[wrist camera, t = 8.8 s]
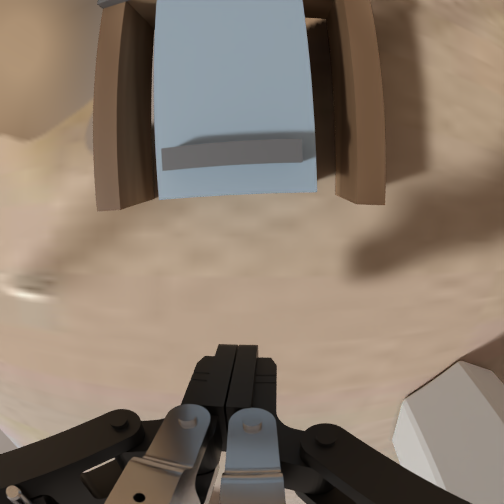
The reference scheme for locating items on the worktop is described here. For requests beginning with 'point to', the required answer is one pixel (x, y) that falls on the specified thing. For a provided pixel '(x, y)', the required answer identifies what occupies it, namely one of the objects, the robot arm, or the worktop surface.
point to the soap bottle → (456, 433)
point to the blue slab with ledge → (232, 98)
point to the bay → (139, 102)
